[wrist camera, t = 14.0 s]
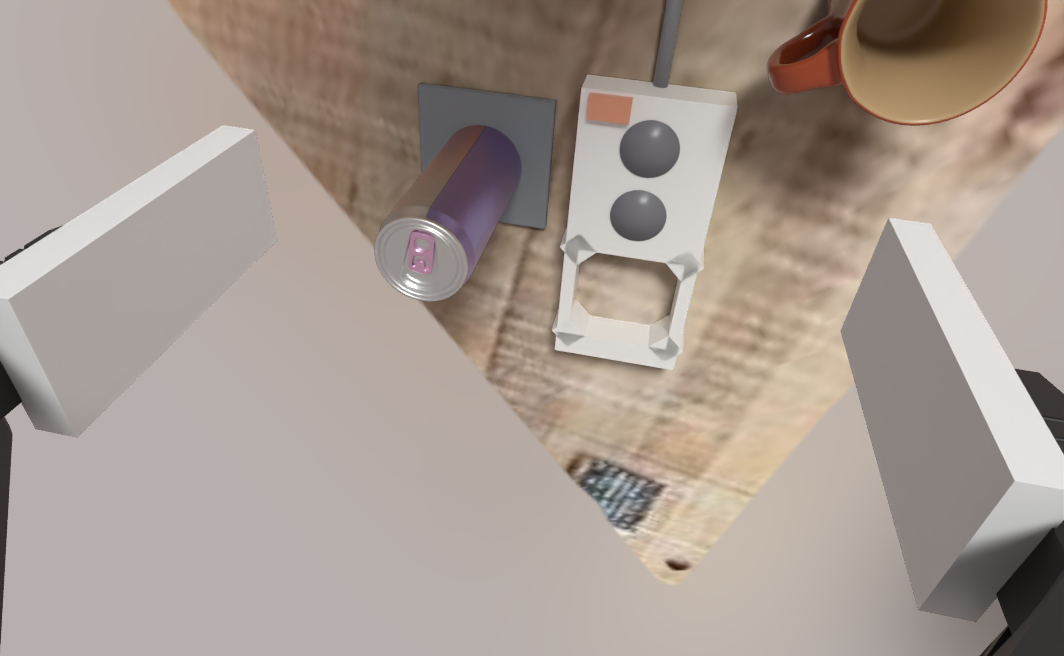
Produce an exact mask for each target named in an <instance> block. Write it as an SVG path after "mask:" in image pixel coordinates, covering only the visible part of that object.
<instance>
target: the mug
mask: <svg viewBox="0 0 1064 656" xmlns="http://www.w3.org/2000/svg"><path fill="white" fill-rule="evenodd" d="M1046 13H1047V0H828V16H826V17H824V18H823V19H821V20H819V21H817V22H816V23H814V24H813V25H811V26H810V27H808V28H807V29H806V30H804V31H803V32H802V33H800V34H799V35H797V36H795V37H794V38H792V39H790V40H789V41H787V42H785V43H784V44H782V45H781V46H780V47H778V48H777V49H776V50H775V51H774V52H773V53H772V55H771V56H770V57H769V60H768V62H767V74H768V78H769V82H770V85H771V87H772V88H773V90H774V91H775V92H777V93H779V94H795V93H800V92H804V91H808V90H811V89H815V88H820V87H834V86H838V85H842V84H844V87H845V89H846V91H847V93H848V95H849V97H850V98H851V99H852V100H853V102H855V103H856V104H857V105H858V106H859V107H861V108H862V109H863V110H865V111H866V112H868V113H869V114H871V115H873V116H875V117H877V118H879V119H881V120H884V121H887V122H890V123H894V124H900V125H910V126H920V125H930V124H935V123H940V122H944V121H948V120H951V119H954V118H957V117H959V116H961V115H964V114H966V113H968V112H970V111H972V110H974V109H976V108H978V107H979V106H981V105H983V104H984V103H986V102H987V101H989V100H990V99H991V98H993V97H994V96H995V95H997V94H998V93H999V92H1000V91H1002V90H1003V89H1004V88H1005V87H1006V86H1007V85H1008V84H1009V83H1010V82H1011V81H1012V80H1013V79H1014V78H1015V77H1016V76H1017V74H1018V73H1019V72H1020V71H1021V69H1022V68H1023V67H1024V66H1025V64H1026V63H1027V61H1028V60H1029V58H1030V56H1031V55H1032V53H1033V51H1034V49H1035V47H1036V45H1037V43H1038V41H1039V39H1040V36H1041V33H1042V30H1043V27H1044V23H1045V19H1046Z"/></svg>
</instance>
